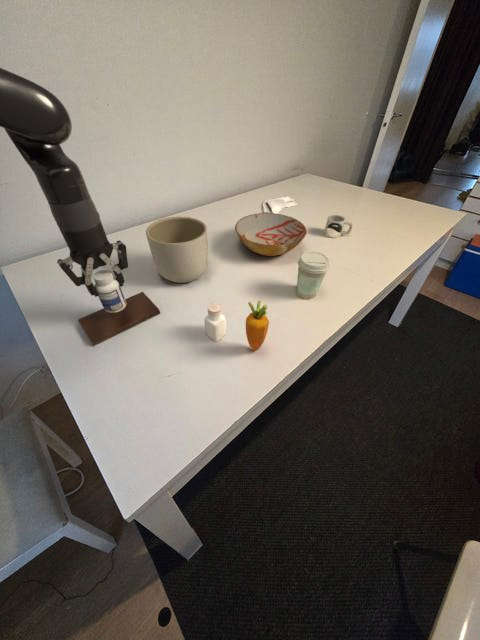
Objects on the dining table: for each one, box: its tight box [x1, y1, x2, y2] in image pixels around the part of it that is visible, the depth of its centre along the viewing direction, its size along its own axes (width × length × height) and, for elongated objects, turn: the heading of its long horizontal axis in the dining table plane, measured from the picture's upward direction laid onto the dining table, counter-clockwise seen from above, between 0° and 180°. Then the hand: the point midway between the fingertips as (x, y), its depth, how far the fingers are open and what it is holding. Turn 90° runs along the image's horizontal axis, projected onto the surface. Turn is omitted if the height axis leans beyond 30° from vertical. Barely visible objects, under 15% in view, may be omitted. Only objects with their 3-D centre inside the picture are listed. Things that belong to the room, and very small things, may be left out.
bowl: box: [234, 212, 308, 257], centre depth 94 cm, size 25×25×8 cm
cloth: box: [262, 196, 298, 214], centre depth 125 cm, size 26×14×2 cm, turn 135°
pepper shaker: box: [204, 302, 227, 342], centre depth 63 cm, size 4×4×10 cm
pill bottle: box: [92, 269, 126, 313], centre depth 63 cm, size 5×5×10 cm
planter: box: [145, 216, 209, 284], centre depth 80 cm, size 17×17×15 cm
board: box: [77, 291, 161, 347], centre depth 69 cm, size 18×10×2 cm, turn 131°
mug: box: [323, 214, 354, 239], centre depth 103 cm, size 10×7×7 cm, turn 76°
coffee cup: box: [296, 251, 330, 300], centre depth 75 cm, size 8×8×12 cm
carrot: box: [245, 300, 270, 352], centre depth 58 cm, size 5×5×15 cm
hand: (108, 289), depth 63 cm, fingers closed on pill bottle, 5 cm apart
